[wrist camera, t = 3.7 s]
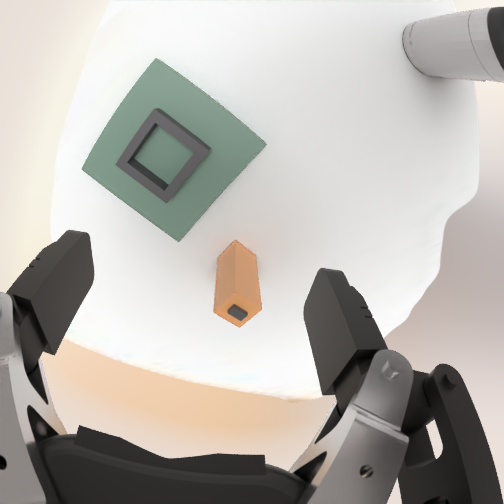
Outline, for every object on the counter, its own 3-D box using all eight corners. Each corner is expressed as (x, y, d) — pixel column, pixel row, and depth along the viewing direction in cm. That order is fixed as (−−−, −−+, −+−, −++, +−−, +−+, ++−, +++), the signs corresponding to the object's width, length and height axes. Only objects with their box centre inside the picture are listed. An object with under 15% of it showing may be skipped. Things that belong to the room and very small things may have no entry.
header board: (265, 142, 33) (268, 147, 30) (180, 237, 40) (175, 251, 36) (159, 59, 26) (150, 55, 23) (86, 166, 33) (72, 174, 29)
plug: (255, 255, 42) (262, 312, 31) (238, 271, 43) (239, 331, 32) (235, 239, 40) (235, 295, 29) (218, 257, 42) (212, 315, 31)
